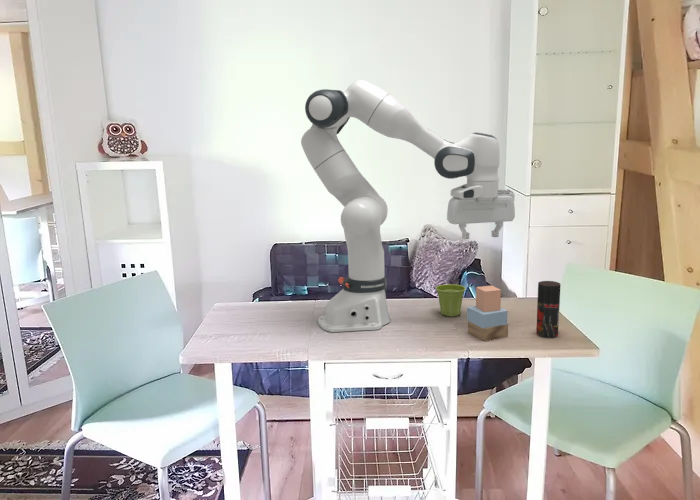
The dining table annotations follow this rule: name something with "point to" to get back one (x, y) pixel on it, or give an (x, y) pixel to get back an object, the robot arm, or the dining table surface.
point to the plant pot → (450, 298)
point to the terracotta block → (488, 298)
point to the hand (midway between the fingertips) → (480, 237)
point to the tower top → (486, 317)
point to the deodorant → (548, 309)
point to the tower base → (488, 332)
